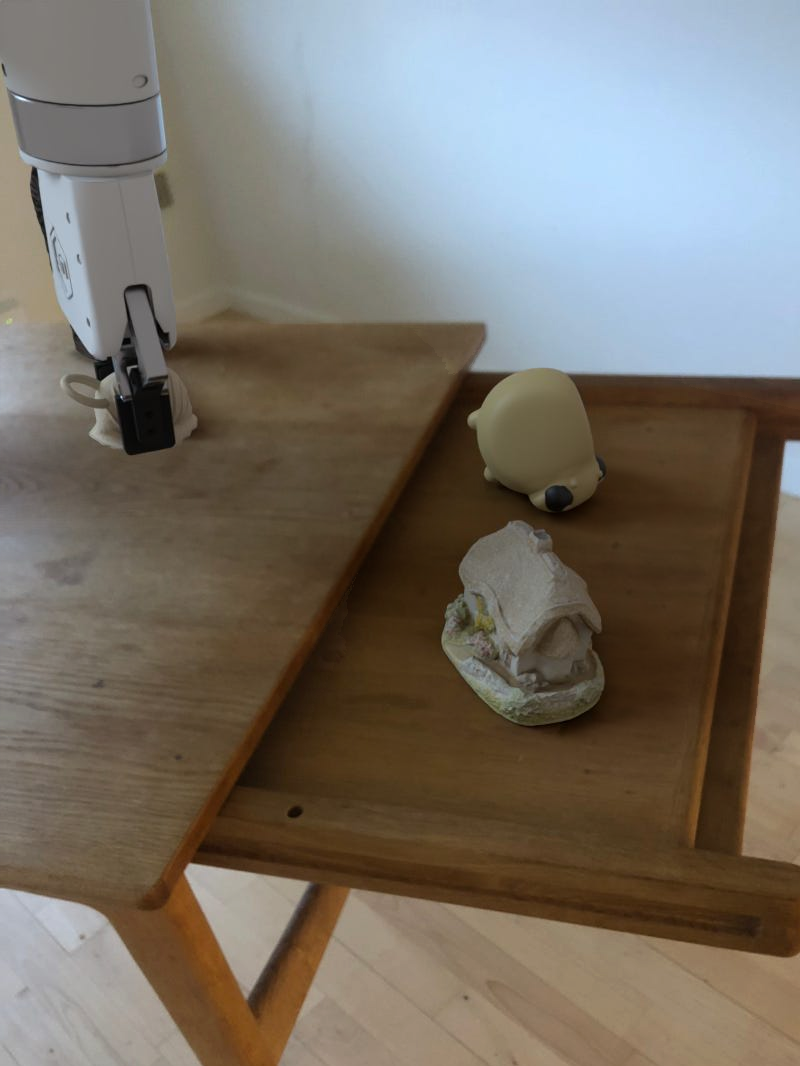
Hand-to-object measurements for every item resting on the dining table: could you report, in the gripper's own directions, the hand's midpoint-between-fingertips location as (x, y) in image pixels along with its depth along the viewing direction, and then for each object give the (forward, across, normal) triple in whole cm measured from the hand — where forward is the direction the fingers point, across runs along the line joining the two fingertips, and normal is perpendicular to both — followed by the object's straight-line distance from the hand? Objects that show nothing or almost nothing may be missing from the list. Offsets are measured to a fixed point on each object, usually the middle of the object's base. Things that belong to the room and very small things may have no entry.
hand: (139, 429), depth 63 cm
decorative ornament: (+1, 0, 0) cm, 1 cm away
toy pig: (+11, +2, +32) cm, 34 cm away
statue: (+12, -38, +7) cm, 41 cm away
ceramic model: (+11, +20, +19) cm, 30 cm away
